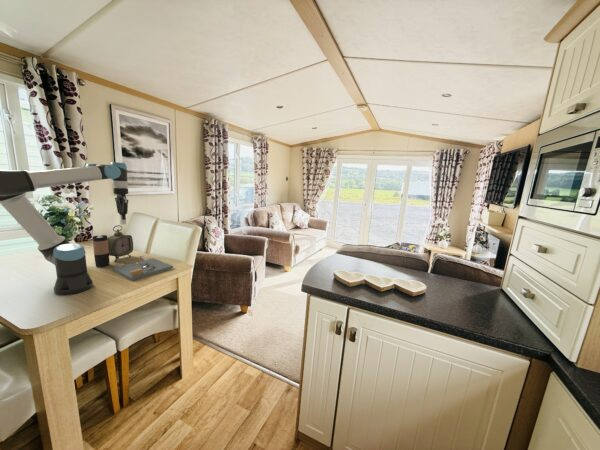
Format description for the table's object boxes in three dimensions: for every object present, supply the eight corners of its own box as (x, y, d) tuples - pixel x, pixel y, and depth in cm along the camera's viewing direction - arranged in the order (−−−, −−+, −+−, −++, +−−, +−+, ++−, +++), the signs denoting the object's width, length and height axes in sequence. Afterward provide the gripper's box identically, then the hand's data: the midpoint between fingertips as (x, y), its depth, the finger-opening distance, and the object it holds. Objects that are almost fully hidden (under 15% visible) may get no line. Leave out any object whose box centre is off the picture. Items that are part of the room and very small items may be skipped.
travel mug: (103, 267, 155) (100, 238, 151) (92, 267, 155) (88, 237, 151) (113, 263, 162) (110, 235, 159) (102, 263, 163) (99, 234, 159)
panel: (131, 280, 139) (131, 277, 139) (113, 270, 151) (112, 267, 151) (173, 268, 160) (172, 265, 160) (153, 260, 172) (153, 257, 172)
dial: (154, 267, 154) (154, 260, 153) (143, 270, 150) (143, 262, 149) (146, 261, 163) (146, 254, 162) (136, 263, 159) (135, 256, 158)
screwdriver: (131, 276, 141) (131, 272, 140) (129, 275, 142) (129, 271, 141) (153, 270, 151) (153, 266, 150) (151, 269, 152) (151, 265, 152)
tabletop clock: (115, 263, 164) (112, 227, 159) (105, 261, 165) (101, 226, 161) (134, 256, 178) (131, 224, 173) (124, 255, 179) (121, 223, 175)
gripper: (132, 188, 149) (134, 225, 153) (122, 187, 156) (125, 222, 160) (118, 188, 143) (121, 226, 147) (109, 186, 149) (111, 223, 154)
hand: (123, 224), depth 154 cm, fingers closed
